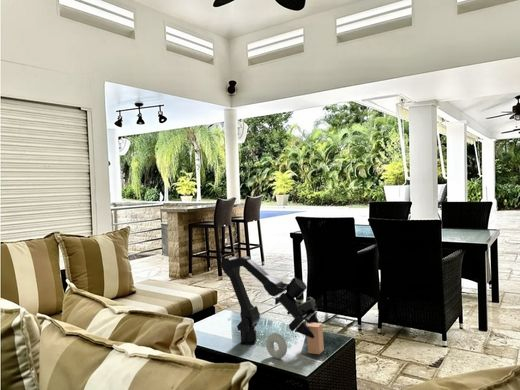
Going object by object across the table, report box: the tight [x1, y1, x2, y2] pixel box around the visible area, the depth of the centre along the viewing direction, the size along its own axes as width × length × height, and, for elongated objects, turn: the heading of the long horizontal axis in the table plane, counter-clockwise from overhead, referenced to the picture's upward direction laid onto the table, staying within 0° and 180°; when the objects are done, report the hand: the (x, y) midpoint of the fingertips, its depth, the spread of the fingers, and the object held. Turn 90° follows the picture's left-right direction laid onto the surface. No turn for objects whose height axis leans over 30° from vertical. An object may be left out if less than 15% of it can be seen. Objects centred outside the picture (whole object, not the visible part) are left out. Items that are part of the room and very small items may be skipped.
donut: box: [265, 332, 288, 360], centre depth 161 cm, size 10×4×10 cm, turn 49°
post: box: [306, 322, 325, 355], centre depth 165 cm, size 5×5×11 cm
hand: (317, 333), depth 165 cm, fingers open, 9 cm apart
